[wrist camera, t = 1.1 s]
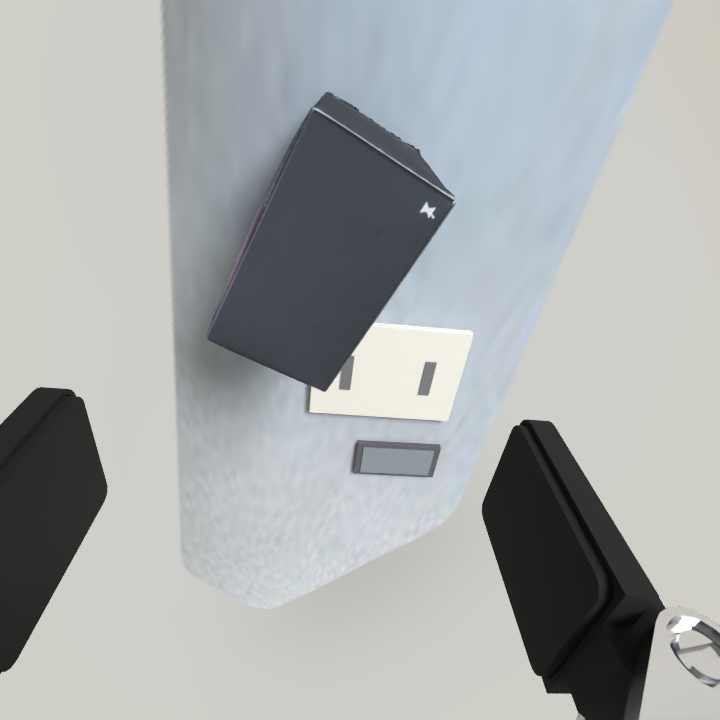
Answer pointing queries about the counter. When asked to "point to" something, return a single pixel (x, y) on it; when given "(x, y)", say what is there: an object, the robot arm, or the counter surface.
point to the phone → (396, 458)
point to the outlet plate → (399, 374)
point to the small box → (328, 245)
